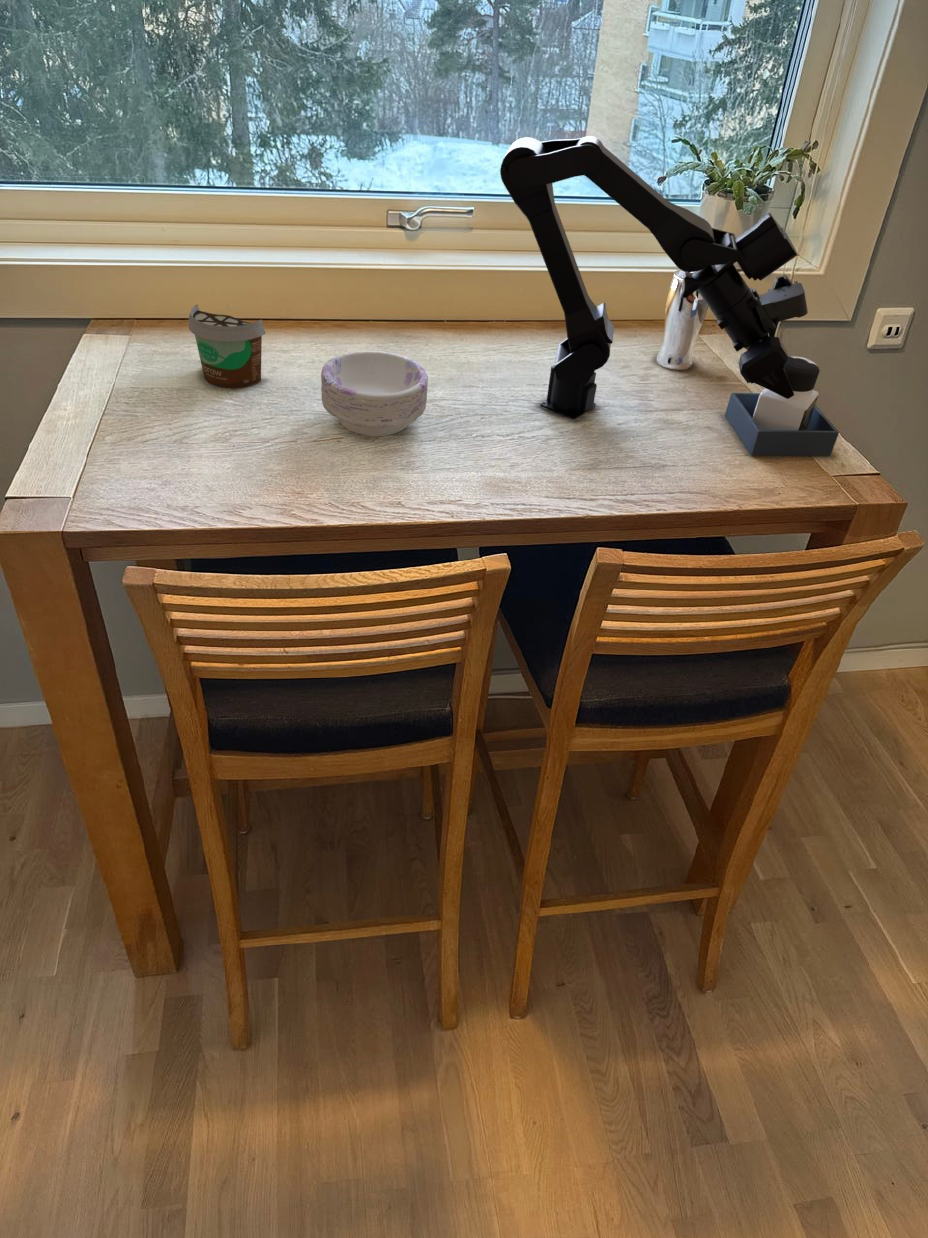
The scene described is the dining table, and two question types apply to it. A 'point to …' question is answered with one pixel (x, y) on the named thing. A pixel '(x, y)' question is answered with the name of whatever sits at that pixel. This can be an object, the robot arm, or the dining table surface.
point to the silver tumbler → (681, 325)
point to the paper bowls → (374, 391)
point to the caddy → (779, 431)
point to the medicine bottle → (790, 399)
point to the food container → (227, 348)
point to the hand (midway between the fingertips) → (787, 383)
